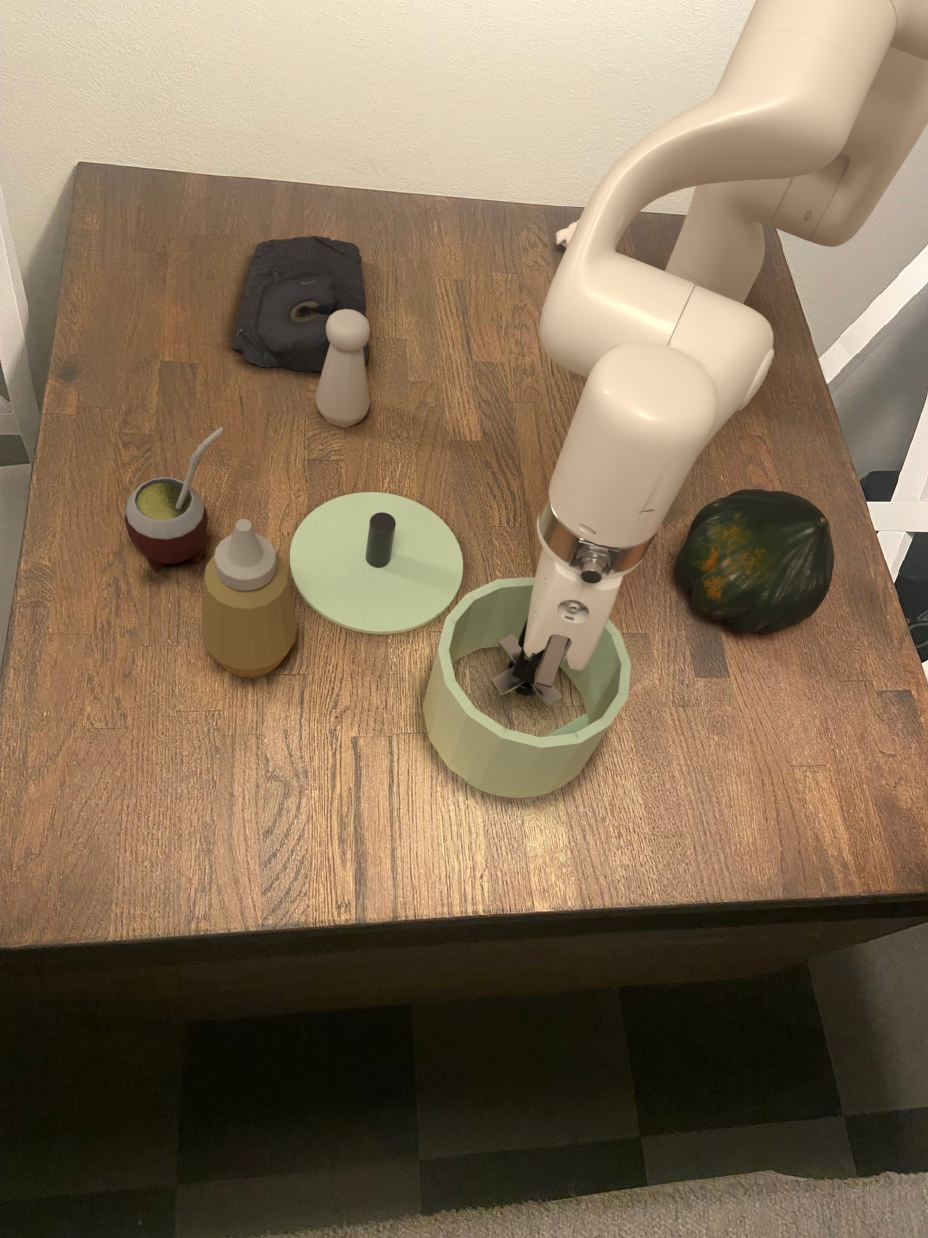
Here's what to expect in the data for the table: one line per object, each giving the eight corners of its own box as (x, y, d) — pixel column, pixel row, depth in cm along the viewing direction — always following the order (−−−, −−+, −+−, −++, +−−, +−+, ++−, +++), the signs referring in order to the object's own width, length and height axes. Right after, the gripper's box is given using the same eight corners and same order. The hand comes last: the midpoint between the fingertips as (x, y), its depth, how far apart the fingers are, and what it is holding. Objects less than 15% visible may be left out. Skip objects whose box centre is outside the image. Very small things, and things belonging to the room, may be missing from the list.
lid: (404, 478, 96) (411, 433, 91) (494, 595, 90) (508, 554, 84) (258, 535, 89) (256, 489, 84) (345, 666, 83) (349, 626, 77)
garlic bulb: (548, 241, 124) (558, 204, 119) (590, 244, 125) (601, 208, 120) (554, 267, 121) (565, 230, 116) (598, 270, 122) (610, 233, 117)
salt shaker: (360, 441, 98) (369, 345, 87) (308, 427, 98) (311, 330, 87) (374, 404, 101) (384, 308, 91) (323, 391, 101) (328, 293, 91)
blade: (534, 629, 80) (557, 576, 73) (583, 691, 77) (611, 641, 70) (469, 663, 77) (486, 610, 70) (517, 728, 74) (540, 680, 67)
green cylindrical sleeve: (528, 617, 89) (554, 551, 80) (629, 745, 83) (669, 690, 74) (390, 686, 82) (402, 623, 74) (488, 831, 76) (514, 781, 68)
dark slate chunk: (376, 260, 115) (379, 226, 111) (366, 381, 103) (369, 348, 99) (252, 242, 113) (251, 207, 109) (228, 364, 101) (225, 329, 97)
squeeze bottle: (257, 707, 79) (251, 588, 64) (184, 658, 81) (162, 530, 66) (314, 644, 84) (321, 519, 69) (244, 598, 85) (236, 466, 70)
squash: (643, 503, 92) (745, 503, 79) (758, 477, 98) (872, 474, 84) (659, 638, 95) (760, 661, 82) (771, 606, 101) (882, 623, 87)
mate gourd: (118, 566, 85) (90, 454, 72) (164, 508, 89) (145, 393, 77) (190, 597, 84) (174, 489, 72) (233, 537, 88) (225, 426, 76)
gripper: (643, 633, 55) (566, 761, 70) (660, 448, 64) (588, 597, 79) (523, 602, 55) (471, 737, 70) (557, 422, 64) (505, 575, 79)
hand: (534, 662), depth 75 cm, fingers closed on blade
